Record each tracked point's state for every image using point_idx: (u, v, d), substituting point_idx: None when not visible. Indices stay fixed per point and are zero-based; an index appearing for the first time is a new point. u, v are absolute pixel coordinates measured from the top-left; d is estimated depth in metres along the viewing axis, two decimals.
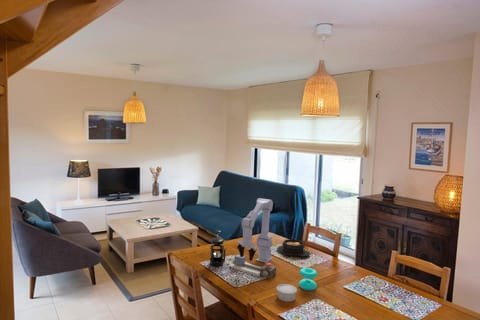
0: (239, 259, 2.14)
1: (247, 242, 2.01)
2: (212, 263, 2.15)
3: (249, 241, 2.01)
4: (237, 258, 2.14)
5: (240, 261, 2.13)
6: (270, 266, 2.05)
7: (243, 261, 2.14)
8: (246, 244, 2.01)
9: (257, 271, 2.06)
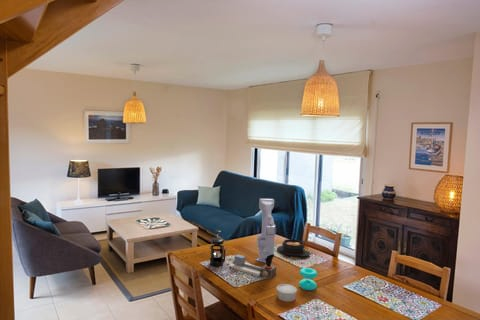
0: (239, 259, 2.14)
1: (265, 248, 2.03)
2: (212, 263, 2.15)
3: (266, 248, 2.02)
4: (237, 258, 2.14)
5: (240, 261, 2.13)
6: None
7: (243, 261, 2.14)
8: (264, 250, 2.03)
9: (257, 271, 2.06)
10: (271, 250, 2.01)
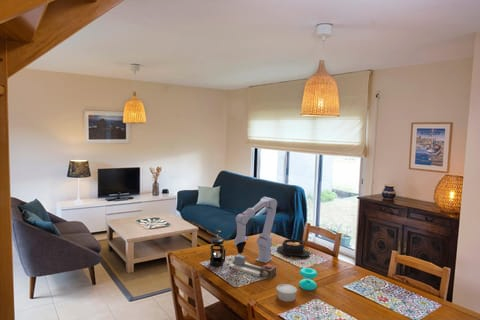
0: (239, 259, 2.14)
1: None
2: (212, 263, 2.15)
3: (237, 236, 2.13)
4: (237, 258, 2.14)
5: (240, 261, 2.13)
6: None
7: (243, 261, 2.14)
8: (236, 238, 2.14)
9: (257, 271, 2.06)
10: (242, 238, 2.12)
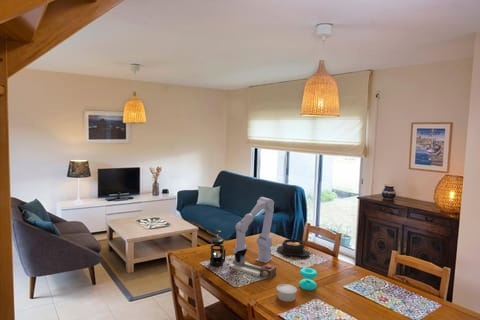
0: None
1: (236, 244, 2.14)
2: (212, 263, 2.15)
3: (237, 244, 2.13)
4: None
5: (240, 261, 2.13)
6: None
7: (243, 261, 2.14)
8: (236, 246, 2.15)
9: (257, 271, 2.06)
10: (241, 246, 2.12)
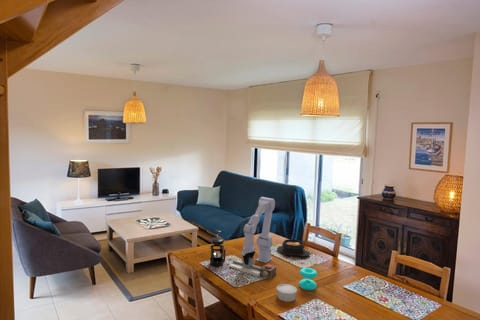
0: None
1: (244, 246, 2.11)
2: (212, 263, 2.15)
3: (245, 246, 2.10)
4: None
5: (248, 263, 2.10)
6: None
7: (251, 263, 2.11)
8: (244, 248, 2.12)
9: (257, 271, 2.06)
10: (250, 248, 2.09)
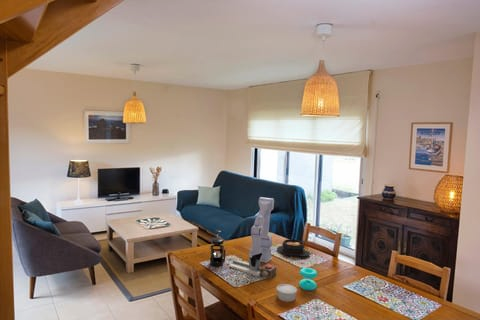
0: None
1: (251, 248, 2.08)
2: (212, 263, 2.15)
3: (252, 248, 2.07)
4: None
5: (255, 265, 2.07)
6: None
7: (258, 265, 2.08)
8: (251, 250, 2.09)
9: (257, 271, 2.06)
10: (257, 250, 2.06)
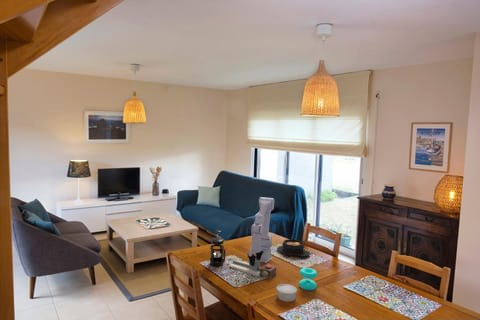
0: (254, 263, 2.08)
1: None
2: (212, 263, 2.15)
3: (252, 246, 2.07)
4: None
5: (255, 265, 2.07)
6: None
7: (258, 265, 2.08)
8: (251, 248, 2.09)
9: (257, 271, 2.06)
10: (257, 248, 2.06)
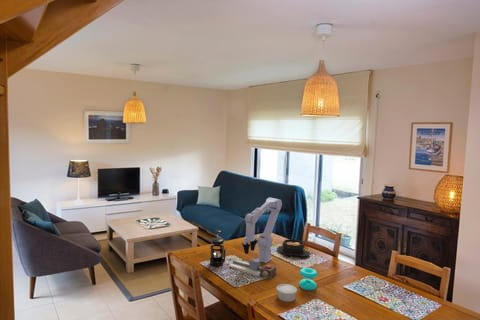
0: (254, 263, 2.08)
1: (246, 235, 2.16)
2: (212, 263, 2.15)
3: (247, 235, 2.15)
4: (252, 262, 2.08)
5: (255, 265, 2.07)
6: None
7: (258, 265, 2.08)
8: (245, 237, 2.17)
9: (257, 271, 2.06)
10: (251, 237, 2.14)
